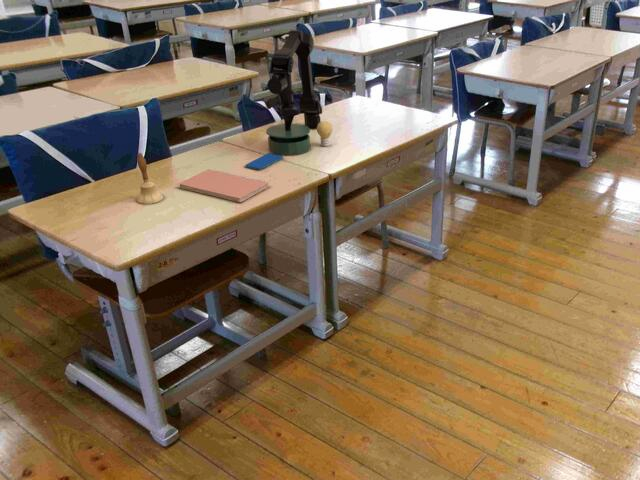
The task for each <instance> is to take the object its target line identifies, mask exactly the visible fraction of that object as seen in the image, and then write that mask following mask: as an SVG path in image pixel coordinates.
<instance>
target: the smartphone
mask: <svg viewBox="0 0 640 480" xmlns="http://www.w3.org/2000/svg"><path fill="white" fill-rule="evenodd" d="M283 158H284V156H282V155H277V154H273V153H271V152H267V153H266V154H263V155H261V156H260V157H258V158H255V159H254V160H252V161H250V162H248V163H246V164H245V168H248V169H252V170H257V171H260V170H261V171H262V170H263V169H265V168H267V167H269V166H271V165H273V164H274V163H276V162H279V161H280V160H282V159H283Z"/></svg>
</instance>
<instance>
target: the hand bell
mask: <svg viewBox="0 0 640 480" xmlns="http://www.w3.org/2000/svg"><path fill="white" fill-rule="evenodd" d="M136 159H137V166H138V168H139V170H140V172H141V176H142V180H143V182H142V183H140V184H139V188H140V194H139V196H138V197H137V198H136V199H137V200H136V201H137V203H139V204H142V205H151V204H153V205H154V204H156V203H160V202H161V201H162V200H163V199H164V196H163V194H161V193H160V192H159V191H158V190H157V187H156V186H155V183H154V182H153V181H150V179H149V175H148V172H147V171H148V170H147V169H148V166H147V161H146V159H145V157H144V155H143V153H142V152H139V153H137V158H136Z"/></svg>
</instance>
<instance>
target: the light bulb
mask: <svg viewBox="0 0 640 480" xmlns="http://www.w3.org/2000/svg"><path fill="white" fill-rule="evenodd" d="M333 130H334V129H333V126H332V124H331V123H330V122H329V121H327V120H323V121H322V120H321V122H320V123H319V124H318V125H317V128H316V132H317V134H318V135H319V137H320V145H321V146H322V147H329V146H330V145H331V138H330V137H331V135H332V133H333Z"/></svg>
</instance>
